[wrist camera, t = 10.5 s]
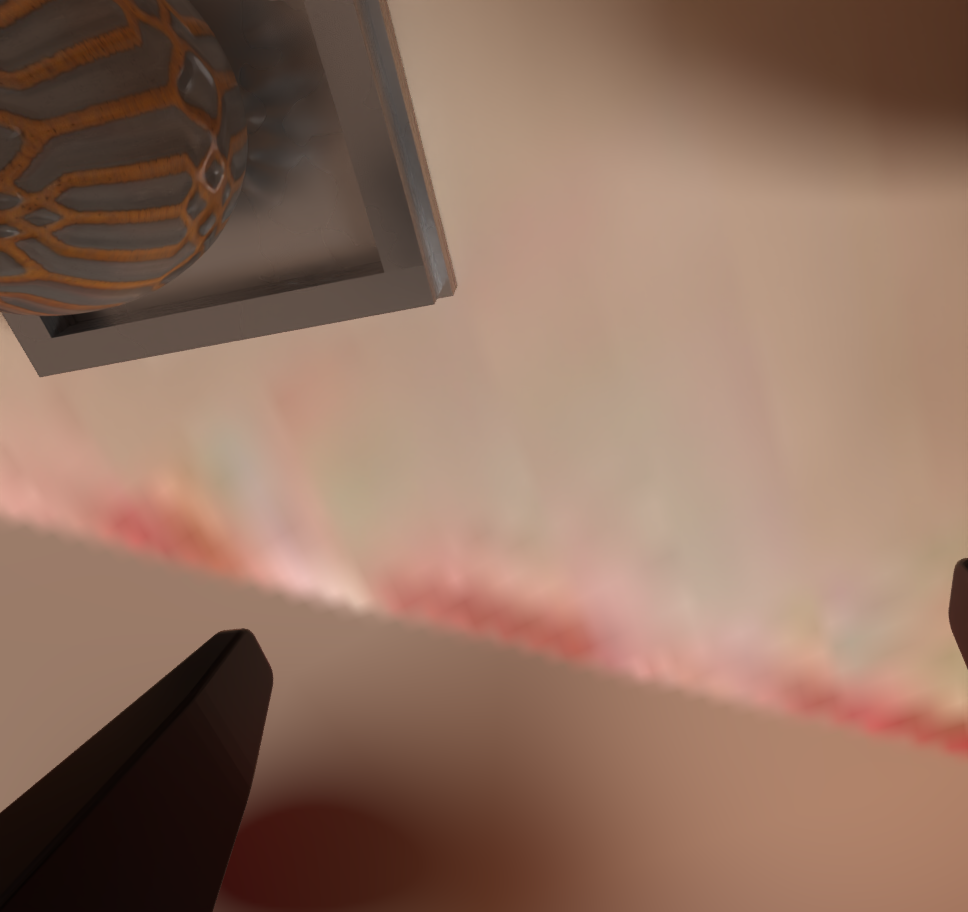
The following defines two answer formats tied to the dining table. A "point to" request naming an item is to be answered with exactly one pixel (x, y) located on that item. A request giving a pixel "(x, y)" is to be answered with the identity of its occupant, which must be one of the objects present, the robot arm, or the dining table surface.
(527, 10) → the dining table surface
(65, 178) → the vase
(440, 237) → the grey square tray
